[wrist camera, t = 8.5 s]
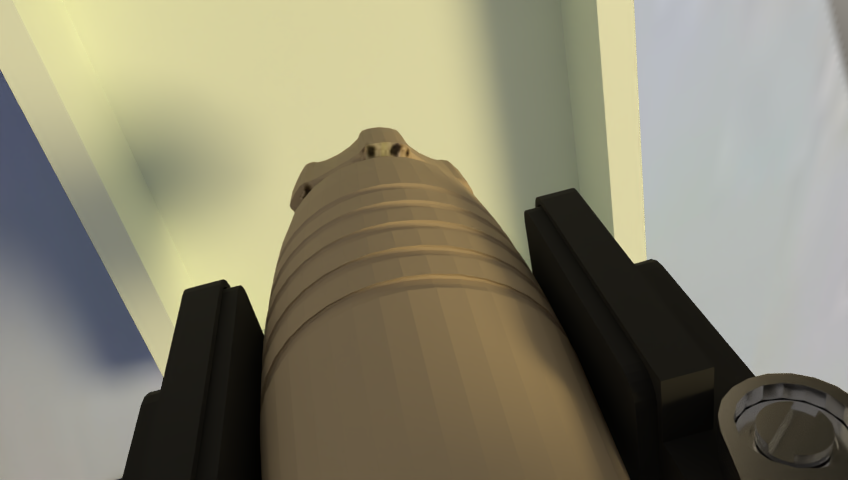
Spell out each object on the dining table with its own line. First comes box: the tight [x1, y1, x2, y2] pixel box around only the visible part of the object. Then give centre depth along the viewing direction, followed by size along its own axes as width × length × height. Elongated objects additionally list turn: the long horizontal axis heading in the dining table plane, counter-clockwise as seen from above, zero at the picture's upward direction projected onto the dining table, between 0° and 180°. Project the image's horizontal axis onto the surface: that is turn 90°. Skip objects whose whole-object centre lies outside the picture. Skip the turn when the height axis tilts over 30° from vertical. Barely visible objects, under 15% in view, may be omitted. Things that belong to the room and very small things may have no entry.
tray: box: [0, 0, 646, 377], centre depth 17 cm, size 13×13×4 cm
